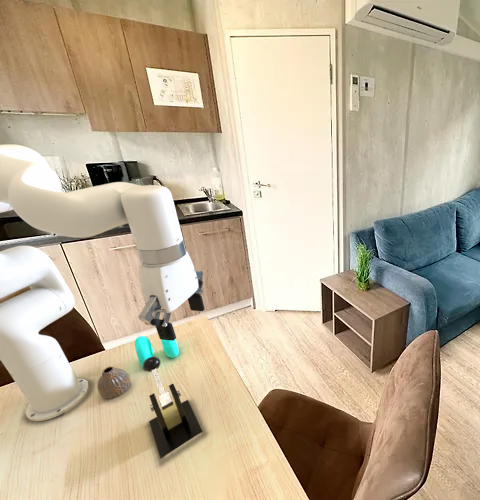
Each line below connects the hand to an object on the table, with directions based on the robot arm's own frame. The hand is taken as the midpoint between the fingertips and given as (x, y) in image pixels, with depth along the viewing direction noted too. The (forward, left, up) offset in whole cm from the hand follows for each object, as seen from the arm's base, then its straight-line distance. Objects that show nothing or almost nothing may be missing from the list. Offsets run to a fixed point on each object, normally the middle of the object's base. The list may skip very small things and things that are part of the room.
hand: (184, 323), depth 61 cm
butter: (-5, -8, -29) cm, 30 cm away
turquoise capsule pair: (-32, -5, -31) cm, 44 cm away
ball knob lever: (-8, -7, -19) cm, 22 cm away
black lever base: (-3, -8, -30) cm, 31 cm away
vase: (-26, -17, -31) cm, 43 cm away
